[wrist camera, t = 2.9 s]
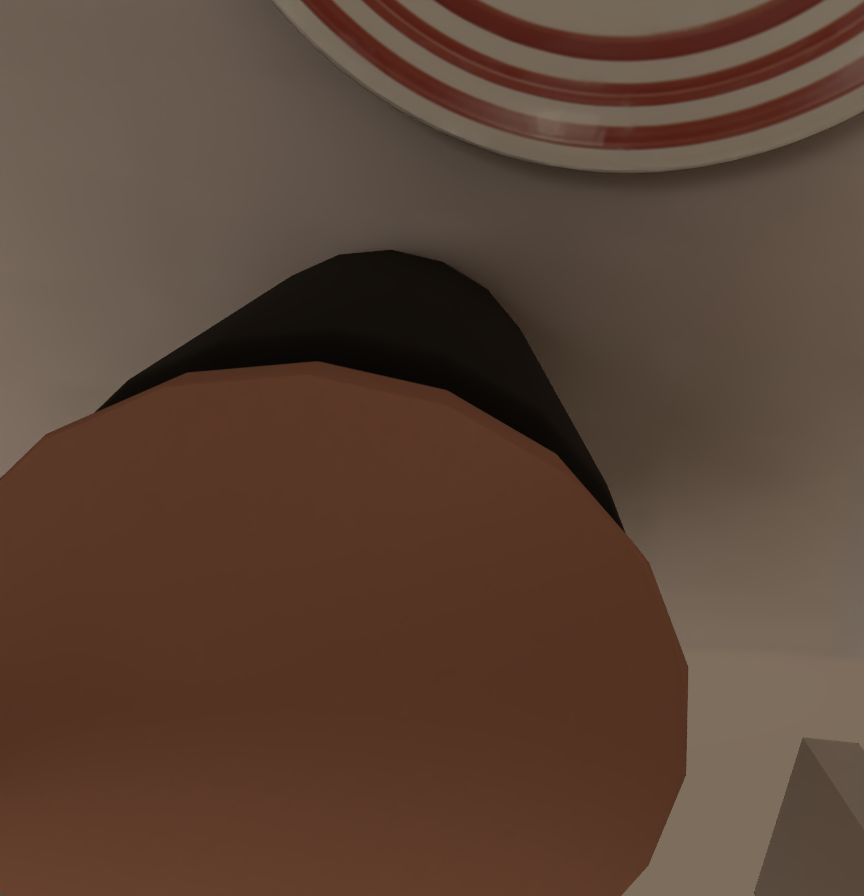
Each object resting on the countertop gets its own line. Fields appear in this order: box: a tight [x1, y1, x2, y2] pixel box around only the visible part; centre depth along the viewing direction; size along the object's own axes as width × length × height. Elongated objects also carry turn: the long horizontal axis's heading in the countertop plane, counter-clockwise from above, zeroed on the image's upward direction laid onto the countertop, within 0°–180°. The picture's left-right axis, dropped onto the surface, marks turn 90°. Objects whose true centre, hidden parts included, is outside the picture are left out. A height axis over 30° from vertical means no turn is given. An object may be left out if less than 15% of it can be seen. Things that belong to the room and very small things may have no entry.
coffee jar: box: [0, 250, 688, 896], centre depth 19 cm, size 11×11×18 cm
